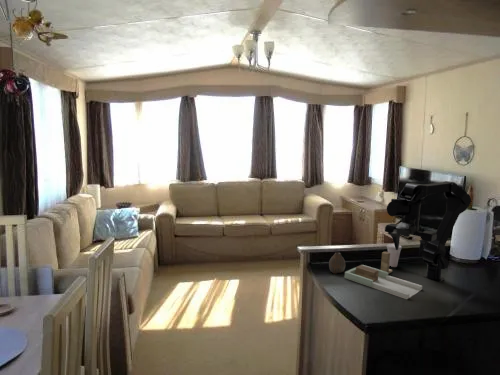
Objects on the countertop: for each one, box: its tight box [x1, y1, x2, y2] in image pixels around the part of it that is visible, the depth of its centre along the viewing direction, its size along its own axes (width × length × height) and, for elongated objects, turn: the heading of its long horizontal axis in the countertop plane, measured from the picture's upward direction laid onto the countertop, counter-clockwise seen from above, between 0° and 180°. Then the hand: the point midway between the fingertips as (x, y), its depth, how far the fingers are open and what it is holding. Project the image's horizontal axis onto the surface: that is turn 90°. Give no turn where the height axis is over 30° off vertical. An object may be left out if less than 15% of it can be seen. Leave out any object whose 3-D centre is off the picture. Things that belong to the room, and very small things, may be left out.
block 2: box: [364, 267, 380, 282], centre depth 150 cm, size 4×4×4 cm
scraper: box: [380, 251, 393, 275], centre depth 158 cm, size 7×4×10 cm, turn 134°
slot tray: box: [344, 264, 423, 300], centre depth 147 cm, size 14×26×4 cm, turn 43°
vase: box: [328, 252, 346, 275], centre depth 160 cm, size 7×7×9 cm
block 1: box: [355, 264, 370, 277], centre depth 153 cm, size 4×4×4 cm
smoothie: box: [386, 243, 402, 268], centre depth 170 cm, size 6×6×14 cm
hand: (408, 252), depth 149 cm, fingers open, 9 cm apart
